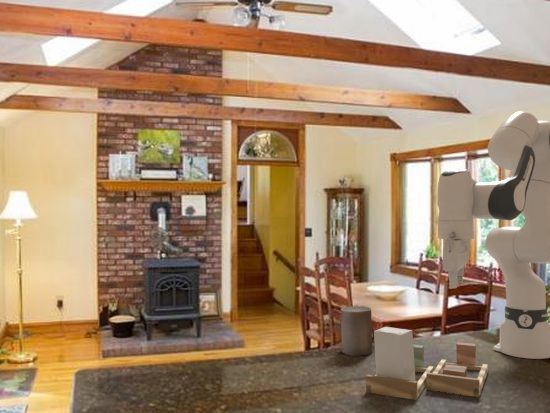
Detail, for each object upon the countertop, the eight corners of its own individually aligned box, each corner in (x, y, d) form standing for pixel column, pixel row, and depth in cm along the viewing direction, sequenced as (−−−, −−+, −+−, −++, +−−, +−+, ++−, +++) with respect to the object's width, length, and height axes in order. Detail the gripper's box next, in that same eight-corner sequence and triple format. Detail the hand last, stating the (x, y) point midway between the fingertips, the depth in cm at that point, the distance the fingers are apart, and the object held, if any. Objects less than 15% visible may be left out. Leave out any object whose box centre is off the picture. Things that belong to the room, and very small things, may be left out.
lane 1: (394, 363, 155) (393, 342, 155) (437, 368, 149) (436, 347, 150) (366, 392, 131) (365, 367, 131) (416, 399, 125) (416, 374, 125)
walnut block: (446, 383, 137) (446, 364, 137) (467, 386, 135) (467, 366, 135) (443, 389, 133) (443, 369, 133) (464, 392, 130) (464, 372, 130)
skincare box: (416, 390, 132) (415, 330, 132) (402, 396, 128) (401, 334, 128) (387, 382, 138) (387, 325, 138) (373, 387, 134) (373, 328, 134)
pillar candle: (377, 350, 170) (376, 303, 170) (365, 357, 161) (364, 308, 162) (349, 347, 175) (348, 301, 175) (336, 353, 167) (335, 305, 167)
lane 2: (444, 361, 156) (444, 341, 156) (489, 366, 151) (489, 345, 151) (426, 389, 132) (426, 365, 132) (479, 397, 126) (478, 371, 127)
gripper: (463, 233, 127) (463, 291, 127) (473, 230, 145) (473, 281, 145) (435, 233, 130) (436, 290, 130) (449, 230, 148) (449, 280, 148)
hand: (456, 285), depth 137 cm, fingers open, 8 cm apart
